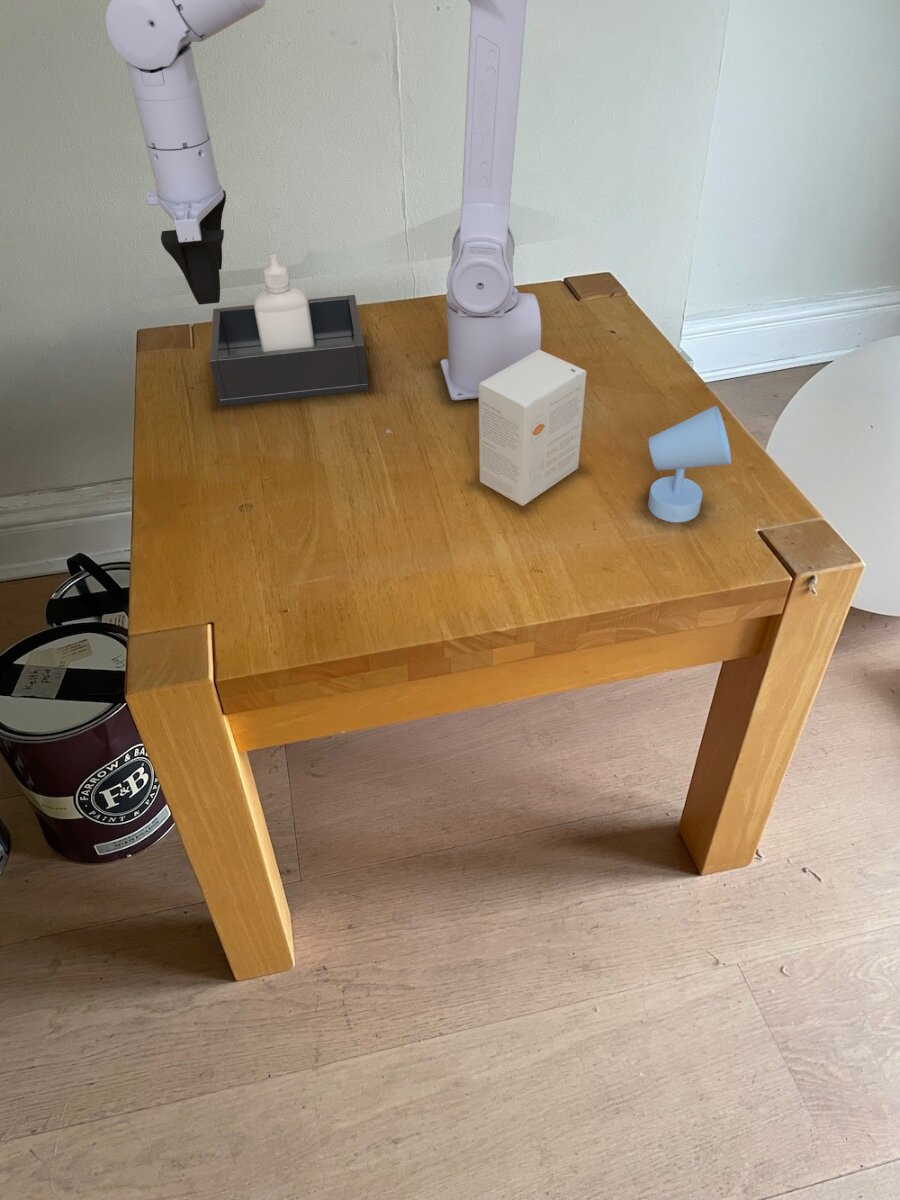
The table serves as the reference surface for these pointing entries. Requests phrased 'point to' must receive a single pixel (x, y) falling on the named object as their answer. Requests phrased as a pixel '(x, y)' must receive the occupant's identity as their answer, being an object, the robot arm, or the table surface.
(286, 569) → the table surface
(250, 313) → the open rectangular box
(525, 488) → the small box
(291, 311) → the eye dropper bottle
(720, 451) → the spotlight
